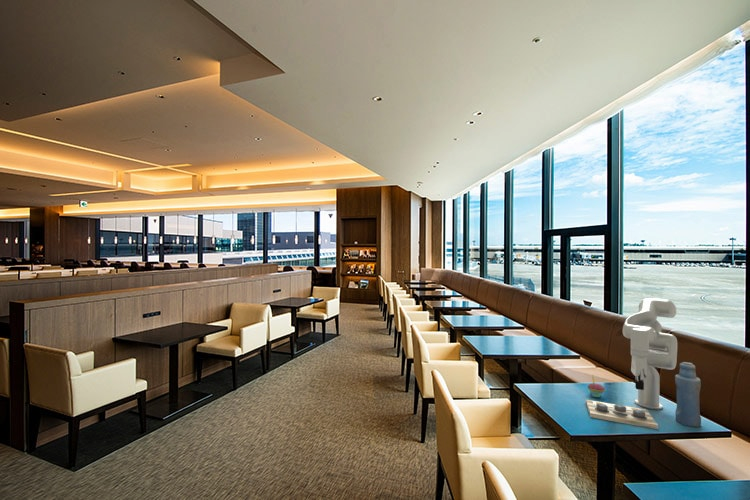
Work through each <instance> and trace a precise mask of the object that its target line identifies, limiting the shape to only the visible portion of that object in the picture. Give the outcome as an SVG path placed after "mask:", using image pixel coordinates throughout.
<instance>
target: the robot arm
mask: <svg viewBox="0 0 750 500" xmlns="http://www.w3.org/2000/svg"><path fill="white" fill-rule="evenodd" d="M676 315H677V307H676V304H675V303H674V302H673V301H671V300H670V299H665V298H653V297H648V298H643V299H642V300H641V302H639V303H638V311H637V312H636V313H634V314H632V315H630V316H629V317H626V319H625V321H624V323H623V326H622V335H623V336H624V337H625V338H627V339H628V340H629V339H630V355H631V368H630V371H631V373H632V375H634V376H635V381H634V382H635V384H634V385H635V389H636V390H637V398H636V399H634V404H636V405H637V406H639V407H643V408H644V409H648V410H649V409H650V410H656V411H657V410H663V408H664V406H663V404H661V403H660V379H661V378H660V373H659V372H658V370H657V369H656V368H659V369H664V370H675V368H676V366H677V361H678V359H677V358H678V339H677V337H676V336H675V335H674V334H673V333H672V334H670V333H667V332H666V333H665V332H662V328H663V327H662V324H661V322H660V321H659V320H657V317H659V318H670V319H673V318H675V316H676Z"/></svg>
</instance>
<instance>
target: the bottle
mask: <svg viewBox="0 0 750 500" xmlns="http://www.w3.org/2000/svg"><path fill="white" fill-rule="evenodd" d="M674 380H675V381H674V383H675V385H676V408H675V418H674V419H675V421H676V422H678V423H679V424H681V425H684V426H687V427H692V428H699V427H701V425H702V417H701V413H700V411H701V410H700V392H701V385H702V384H701V379H700V377H698V376H697V373H696V365H694V364H693V363H692V362H687V361H683V362H680V363H679V373H678V374H675V376H674Z"/></svg>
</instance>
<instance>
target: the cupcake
mask: <svg viewBox="0 0 750 500" xmlns="http://www.w3.org/2000/svg"><path fill="white" fill-rule="evenodd" d="M594 378H595V377H594V375H593V374H592V383H588V385H587V388H588V390H589V391H590V395H591V397H595V398H601V396H602V395H603V393H605V391H606V389H605V387H604V386H603V385H601V384H599V383H596V382H595V379H594Z"/></svg>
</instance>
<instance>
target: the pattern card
mask: <svg viewBox="0 0 750 500" xmlns="http://www.w3.org/2000/svg"><path fill="white" fill-rule="evenodd" d="M596 401H597V400H592V402H593V404H594V405H596V404H604V405H607V406H608V407H610V408H614V404H615V403H610V404H608V403H609V402H604V403H602V402H603V401H602V402H601V401H598V402H596ZM624 406H625V407H626V406H627V405H624ZM632 407H633V406H628V407H626V410H628V411H633V410H641V409H642V408H640V409H638V407H634V408H632ZM641 411H642V410H641Z"/></svg>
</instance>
